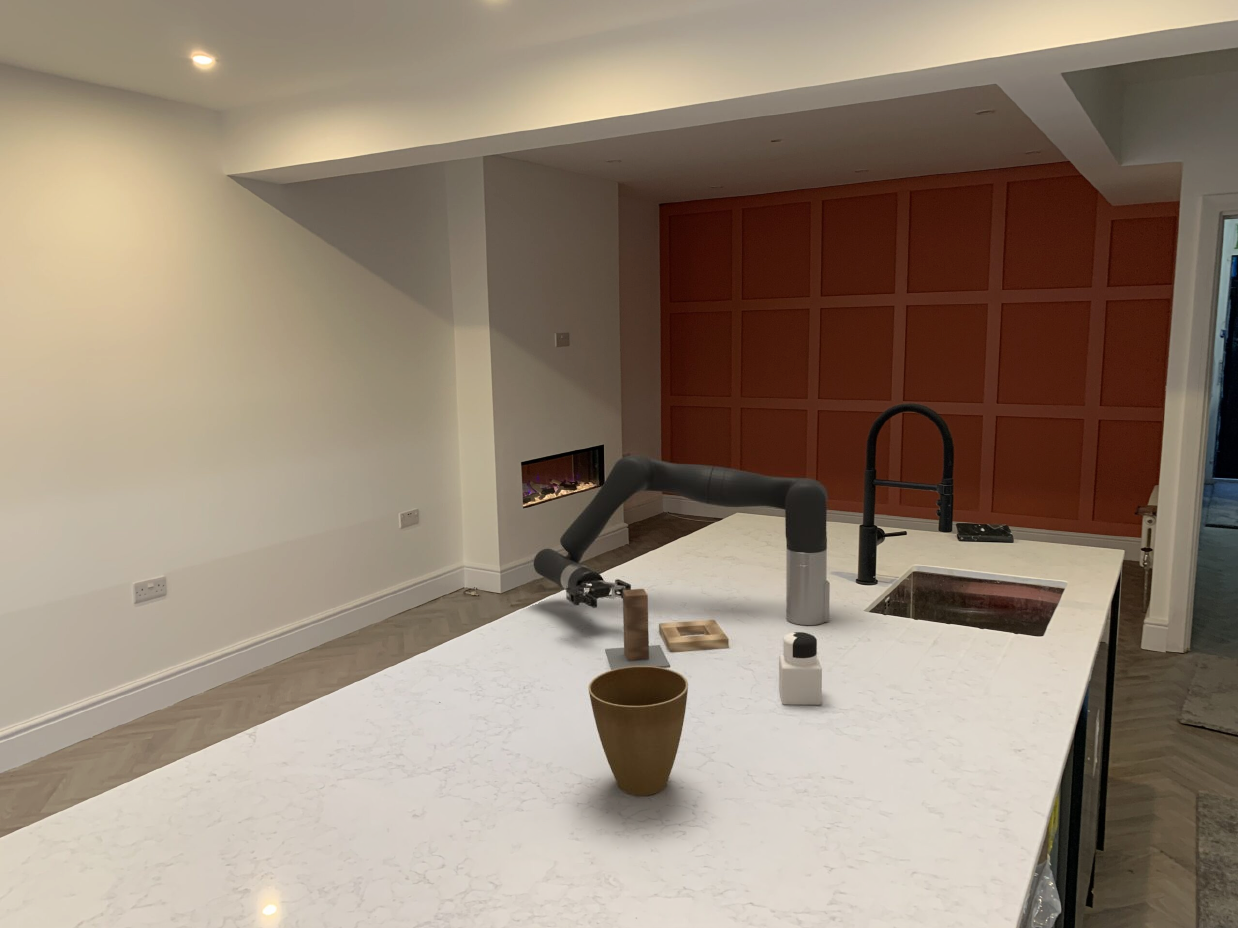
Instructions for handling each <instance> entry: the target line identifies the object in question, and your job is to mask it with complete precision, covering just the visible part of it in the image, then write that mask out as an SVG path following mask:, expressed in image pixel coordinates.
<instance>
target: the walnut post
mask: <svg viewBox="0 0 1238 928" xmlns="http://www.w3.org/2000/svg"><path fill="white" fill-rule="evenodd" d="M648 598H649V595H648V593H647V592H646V589H644V588H636V589H635V588H634V589H632V588H631V590H623V599H622V619H623V648H624V654H625V656H626V659H627V661H639V660H649V646H650V644H649V640H650V639H649V637H650V636H649V602H648V601H649V599H648Z"/></svg>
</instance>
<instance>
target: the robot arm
mask: <svg viewBox="0 0 1238 928" xmlns="http://www.w3.org/2000/svg"><path fill="white" fill-rule="evenodd" d="M602 484H603V485H601V487H600V488H599V490H598V492H597V493H596V495H595V496H594V497H593V499H592V500H591V501H590V503H589V504H588V505H587V506H586V507H585V508H584V509H583V510H582V512H580V514H579V515H578V516H577V517H576V519H574V521H573V522H572V523H571V524H570V525H569V527H568V528H567V529H566V530H565V532H563V534H562V535H561V537H560V541H559V542H560V545H561V547H562V548H563V549H564V550H565V551H566V552H567V555H563V554H562V553H559V552H557V551H556V550H554V549H552V548H544V549H541V550H539V552H537V553H536V555H535V556H534V558H533V568H534V571H535V572H536V573H537V574H538V575H540V576H542V577H543V578H545V579H547V580H549V581H551V582H553V583H554V584H556V585H558V586H559V587H560V588H561V589H563V590H565V595H566V596H565V597H566V600H568V602H570V603H571V604H573V605H574V606H579V605H580V604H582V605H583V606H586V605H587V606H588V607H590V608H592V609H595V608H597V607H598V599H611V600H614V599H616V598H621V599H622V600H623V590H632V584H630V583H628V582H626V581H624V580H622V579H617V578H616V579H614V582H609V581H606V580H604V578H603V577H602V574H600V573H599V572H597V571H595V570H594V569H591V568H590V567H588V566H586V565H583V564H580V562H581V559H582V558H583V556H584V554H585V553H586V552H587V550H588V549H589V548H590V547H591V545H592V544H593V543H594V541H596V539H598V537H599V536H600V535H601V533H602V532H603V531H604V529H605V528H606V525H607V524H608V522H609V521H610V519H611V518H612V516H613V515H614V514H615V512H616V511H618V509H619V508H620V507H621V506H622V505H623V504H624V503H625V502H626V501H627V500H628V499H630V498H631V497H632V496H633V495H634V494H636V493H640V492H648V491H649V492H660V493H661V492H663V493H670V494H674V495H677V496H681V497H683V498H686V499H689V500H691V501H694V502H697V503H700V504H701V503H702V504H705V505H712V506H717V507H726V508H748V507H749V508H750V507H768V508H776V509H781V510H784V511H785V513H784V517H785V521H784V522H785V524H784V525H785V526H784V527H785V531H784V533H785V540H786V547H785V548H786V556H785V557H786V558H785V559H786V561H785V562H786V563H785V564H786V568H785V569H786V570H785V571H786V572H785V574H786V575H785V576H786V577H785V580H786V584H785V585H786V588H785V589H786V591H785V593H786V594H785V595H786V598H785V599H786V600H785V603H786V604H785V606H786V609H785V610H786V611H785V612H786V613H785V614H786V615H785V616H786V620H787V621H788V622H790V623H792V624H796V625H800V626H815V625H820V624H823V623H828V622H830V600H831V599H830V595H831V594H830V592H831V591H830V588H831V587H830V582H829V581H828V580H827V578H828V577H827V575H828V574H827V573H828V570H827V567H828V565H827V564H828V562H827V561H828V560H827V558H828V557H827V555H828V551H827V550H828V537H827V533H828V532H827V511H828V509H827V504H828V503H829V502H828V501H829V495H828V491H827V489H826V488H825V485H824V484H822V483H821V482H820V481H818V480H816V479H813V478H811V477H810V478H809V477H808V478H806V477H804V478H803V477H782V476H781V477H779V476H769V475H764V474H760V473H756V472H751V471H745V470H741V469H736V468H729V467H728V468H727V467H722V466H715V465H706V464H691V463H690V464H688V463H687V464H686V463H675V462H674V463H673V462H668V461H664V460H659V459H655V458H652V457H648V456H644V455H642V454H641V455H640V454H631V455H627V456H623V457H622V458H620V459H618V460H617V461H616V462H615V464H614V465H613V467H612V469H611V471H610V472H609V474H608V476H607V477H606V479H605V481H604V483H602ZM610 593H611V594H610Z"/></svg>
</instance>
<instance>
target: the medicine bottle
mask: <svg viewBox="0 0 1238 928" xmlns="http://www.w3.org/2000/svg"><path fill="white" fill-rule="evenodd" d="M782 646H783V647H782V648H783V649H782V650H783V653H780V654H779V655H778V689H779V691H778V692H779V695H780V699H781V703H782V705H789V706H790V705H792V706H793V705H794V706H795V705H796V706H797V705H798V706H799V705H801V706H821V705H822V703H823V702H822V701H823V700H822V699H823V698H822V697H823V695H822V694H823V693H822V691H823V689H822V688H823V685H822V684H823V668H822V665H821V662H820V660H819V658H818V657H819V656H818V654H817V653H818V652H817V651H818V648H817V647H818V639H817V638H816V637H815V636H814V635H813V634H811V633H808V632H803V631H795V632H790V633H788V634H785V635H784V636H783V645H782Z"/></svg>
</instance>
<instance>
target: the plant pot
mask: <svg viewBox="0 0 1238 928" xmlns="http://www.w3.org/2000/svg"><path fill="white" fill-rule="evenodd" d="M688 689H689V682H688V680H687V678H686V677H685V676H684V674H683V675H682V674H681V673H679V672H678V671H675V670H674V669H669V668H667V667H666V668H661V667H654V666H631V667H623V668H618V669H614V670H611V669H610V670H608V671H605V672H603V673H601V674H599V675H597V676H596V677H594V678H593V679H592V680H591V681H590V683H589V684H588V695H589V698H590V699H589V700H590V704H591V708H592V709H591V710H592V713H593V718H594V721H595V726H596V728H597V729H596V730H597V732H598V737H599V740H600V742H601V746H602V749H603V753H604V755H605V757H606V760H607V762H608V765H609V768H610V770H611V773H612V775H613V777H614V779H615V781H616V784H617V786H618V788H619V789H620V790H621V791H622V792H623V793H626V794H628V795H631V796H635V797H636V796H639V797H641V796H642V797H646V796H651V795H655V794H658V793H659V792H662V791H663V790H664V789H665V788H666V787H667V784H668V781H669V779H670V776H671V773H672V770H673V767H674V764H675V760H676V757H677V754H678V749H679V746H680V741H681V738H682V732H683V727H684V721H685V715H686V708H687V700H688V693H689V692H688V691H689V690H688Z"/></svg>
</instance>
